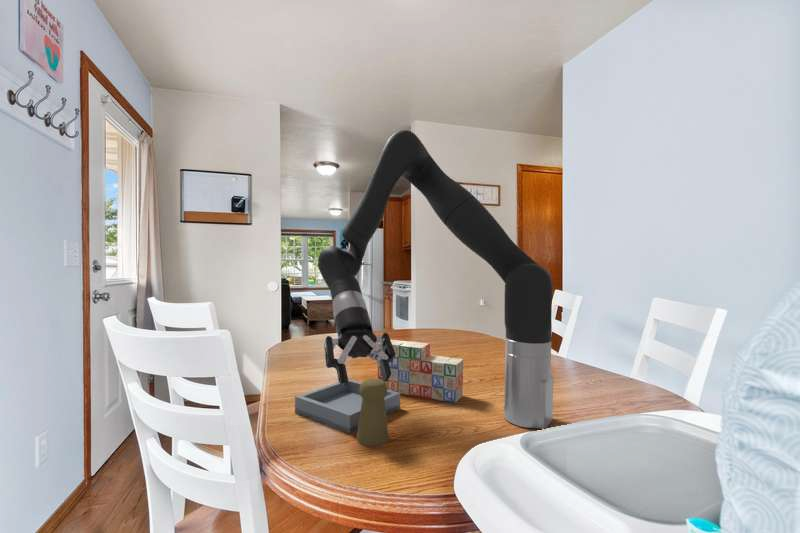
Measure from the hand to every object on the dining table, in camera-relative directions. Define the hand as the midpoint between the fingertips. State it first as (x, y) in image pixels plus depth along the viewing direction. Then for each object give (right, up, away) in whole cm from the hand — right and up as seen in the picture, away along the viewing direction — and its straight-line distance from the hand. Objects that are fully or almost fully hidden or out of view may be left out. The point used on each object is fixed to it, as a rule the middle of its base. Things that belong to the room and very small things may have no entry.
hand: (366, 381), depth 75 cm
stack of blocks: (+11, -10, +23) cm, 27 cm away
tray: (-5, -9, +10) cm, 14 cm away
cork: (+1, -10, -3) cm, 11 cm away
